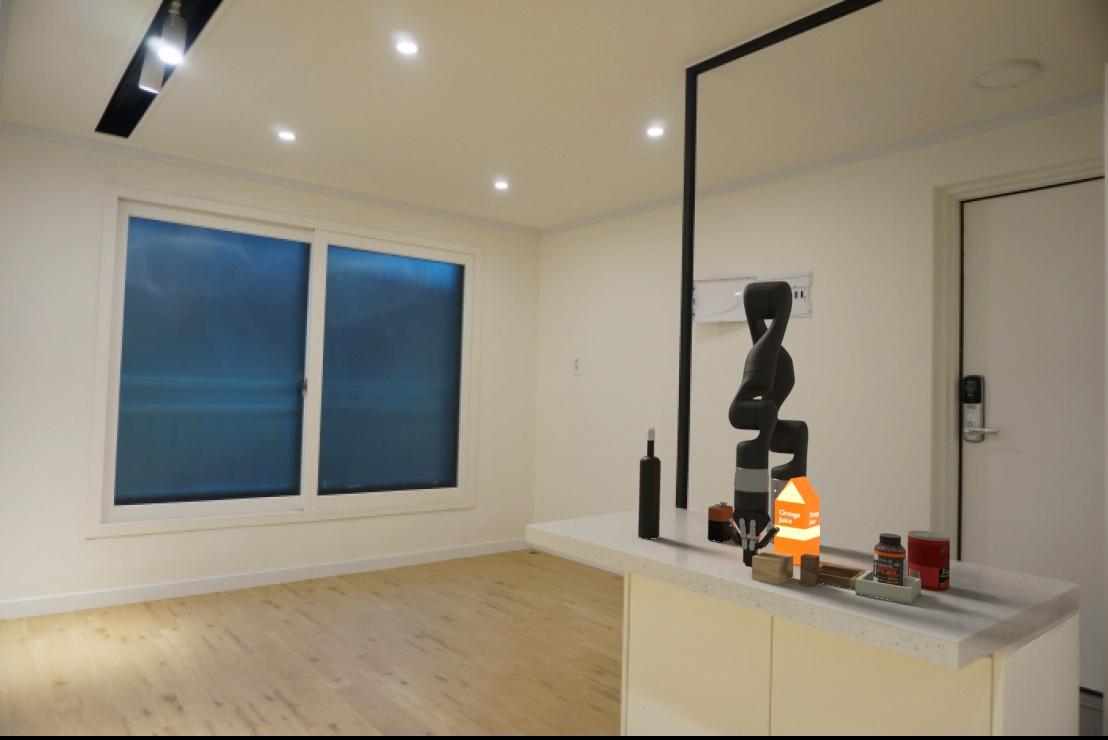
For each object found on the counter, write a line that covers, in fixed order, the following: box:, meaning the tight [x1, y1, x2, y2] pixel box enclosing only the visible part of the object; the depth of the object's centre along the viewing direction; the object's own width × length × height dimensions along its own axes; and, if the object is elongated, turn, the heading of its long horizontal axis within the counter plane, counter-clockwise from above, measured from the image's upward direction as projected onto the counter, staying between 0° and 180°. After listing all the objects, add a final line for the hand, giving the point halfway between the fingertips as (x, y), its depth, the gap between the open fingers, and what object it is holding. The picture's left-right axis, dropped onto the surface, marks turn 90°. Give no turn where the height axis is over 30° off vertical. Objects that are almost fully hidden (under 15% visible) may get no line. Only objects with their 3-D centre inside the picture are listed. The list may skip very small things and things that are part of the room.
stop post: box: [799, 553, 820, 588], centre depth 148 cm, size 3×3×6 cm
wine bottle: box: [637, 427, 662, 540], centre depth 193 cm, size 6×6×30 cm
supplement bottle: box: [872, 532, 907, 587], centre depth 142 cm, size 6×6×11 cm
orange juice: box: [773, 476, 821, 566], centre depth 170 cm, size 8×9×20 cm
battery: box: [707, 501, 734, 543], centre depth 192 cm, size 4×7×10 cm, turn 139°
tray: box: [854, 570, 922, 605], centre depth 142 cm, size 10×10×3 cm
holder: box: [819, 563, 866, 590], centre depth 151 cm, size 9×9×2 cm
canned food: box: [906, 530, 951, 592], centre depth 150 cm, size 8×8×11 cm
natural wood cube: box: [751, 550, 794, 585], centre depth 152 cm, size 8×6×5 cm
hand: (750, 566), depth 156 cm, fingers closed
